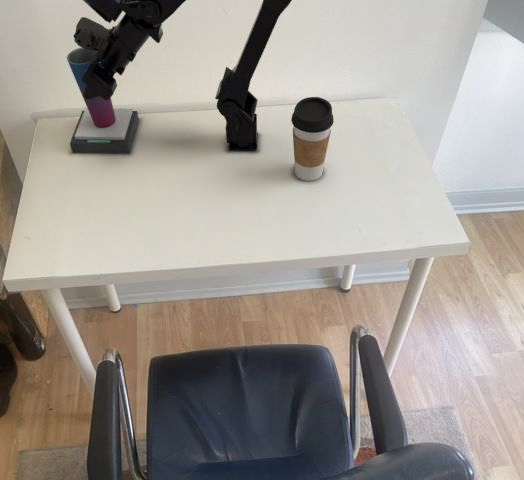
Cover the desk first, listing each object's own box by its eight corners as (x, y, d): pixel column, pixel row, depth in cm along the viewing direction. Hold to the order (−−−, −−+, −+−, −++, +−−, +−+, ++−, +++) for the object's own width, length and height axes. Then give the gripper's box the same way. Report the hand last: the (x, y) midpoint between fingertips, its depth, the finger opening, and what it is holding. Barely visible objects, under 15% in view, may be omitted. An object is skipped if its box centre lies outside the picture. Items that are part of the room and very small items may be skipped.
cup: (124, 123, 122) (104, 57, 110) (95, 133, 121) (72, 67, 108) (113, 109, 126) (93, 43, 113) (86, 118, 124) (62, 53, 112)
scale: (139, 120, 129) (136, 107, 127) (129, 153, 122) (126, 141, 119) (85, 119, 130) (81, 107, 127) (72, 152, 122) (68, 140, 120)
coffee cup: (332, 164, 119) (339, 100, 107) (321, 188, 114) (328, 123, 102) (295, 157, 121) (298, 92, 108) (284, 180, 116) (286, 115, 104)
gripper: (105, -16, 108) (68, 40, 118) (77, 29, 98) (40, 86, 108) (150, 27, 114) (112, 77, 124) (129, 74, 104) (89, 124, 114)
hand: (89, 89), depth 117 cm, fingers closed on cup, 6 cm apart
